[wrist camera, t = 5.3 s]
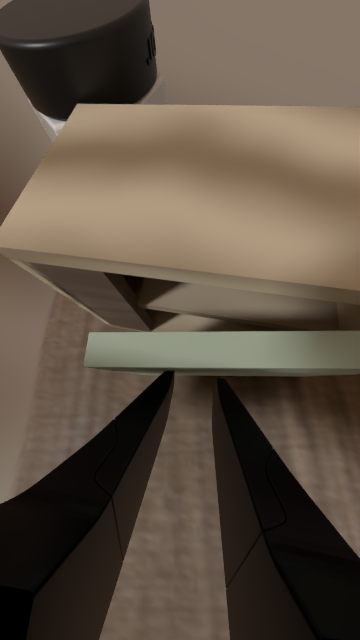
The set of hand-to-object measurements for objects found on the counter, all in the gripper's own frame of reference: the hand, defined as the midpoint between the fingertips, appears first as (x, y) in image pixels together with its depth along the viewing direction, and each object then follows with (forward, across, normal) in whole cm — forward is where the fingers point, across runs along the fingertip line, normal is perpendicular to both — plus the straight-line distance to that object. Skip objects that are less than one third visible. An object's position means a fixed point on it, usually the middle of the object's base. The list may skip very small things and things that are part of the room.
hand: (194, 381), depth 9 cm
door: (+5, -2, +3) cm, 6 cm away
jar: (+16, +8, -8) cm, 20 cm away
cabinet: (+10, 0, -2) cm, 10 cm away
